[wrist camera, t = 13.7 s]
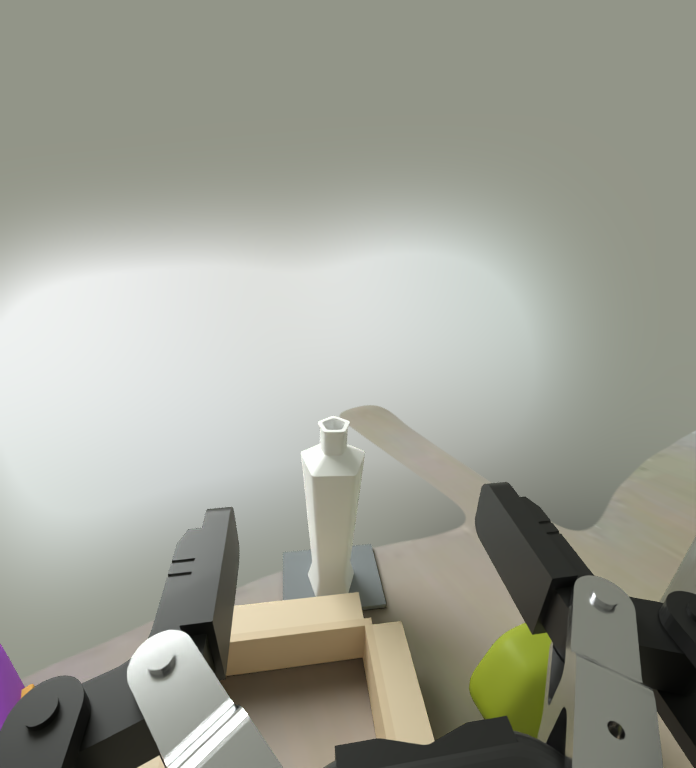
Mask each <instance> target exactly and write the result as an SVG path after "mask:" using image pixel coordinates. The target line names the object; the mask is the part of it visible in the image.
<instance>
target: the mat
mask: <svg viewBox="0 0 696 768" xmlns="http://www.w3.org/2000/svg"><path fill="white" fill-rule="evenodd" d="M350 562H351V565H352V568H353V571H354V575H353V579H352V582H351V586H350V589H349V593H354V592H359V597H360V602H361V607H362V610H368V609H376V608H385V607H386V601H385V597H384V593H383V589H382V585H381V581H380V577H379V573H378V569H377V565H376V561H375V557H374V553H373V550H372V546H371V544H367V545H356V546H352V551H351V559H350ZM311 564H312V555H311V550H303V551H293V552H284V553H283V600H291V599H300V598H309V597H316V596H315V594H314V591H313V588H312V585H311V582H310V580H309V577H308V572H309V570H310V567H311Z"/></svg>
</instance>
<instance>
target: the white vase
mask: <svg viewBox="0 0 696 768" xmlns="http://www.w3.org/2000/svg"><path fill="white" fill-rule="evenodd" d="M349 424H350V422H349V421H347V420H345V419H342V418H339V417H336V416H331V417H329V418H326V419H323V420H321V421H319V422H318V425H319V426H320V444H319V445H316V446H314V447H311V448H309V449H306V450H304V451H302V452H301V458H302V467H303V478H304V487H305V497H306V507H307V516H308V526H309V535H310V544H311V555H312V564H311V567H310V570H309V572H308V577H309V580H310V582H311V585H312V588H313V591H314V594H315V596H316V597H318V596H327V595H336V594H345V593H349V589H350V586H351V582H352V579H353V575H354V571H353V568H352V565H351V562H350V559H351V551H352V544H353V536H354V528H355V522H356V515H357V507H358V500H359V493H360V485H361V478H362V470H363V463H364V455H365V452H364V451H363V450H361V449H358V448H355V447H353V446H350V445H348V444H347V428H348V426H349Z"/></svg>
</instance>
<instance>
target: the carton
mask: <svg viewBox="0 0 696 768" xmlns="http://www.w3.org/2000/svg"><path fill="white" fill-rule="evenodd" d="M356 658H363V663H364V669H365V675H366V681H367V686H368V692H369V698H370V704H371V710H372V716H373V722H374V727H375V733H376V739H377V738H382V739H388V740H395V741H401V742H408V743H415V744H421V745H427V744H430V743H432V742H434V737H433V734H432V730H431V726H430V723H429V719H428V716H427V712H426V708H425V705H424V701H423V697H422V694H421V690H420V687H419V683H418V679H417V676H416V672H415V668H414V665H413V661H412V658H411V654H410V650H409V647H408V643H407V640H406V636H405V632H404V629H403V625H402V621H397V622H389V623H381V624H373V625H372V621H371V618H363V612H362V607H361V602H360V597H359V592H354V593H345V594H336V595H327V596H318V597H309V598H300V599H291V600H283V601H274V602H265V603H256V604H247V605H238V606H234V611H233V620H232V628H231V637H230V646H229V654H228V663H227V672H226V676H230V675H238V674H245V673H252V672H260V671H267V670H275V669H282V668H289V667H297V666H304V665H311V664H319V663H326V662H333V661H341V660H348V659H356ZM138 768H165V767H164V765H163V763H162V761H161V758H160V756H157V757H156V758H154V759H152V760H150V761H148V762H147V763H145V764H143V765H141V766H139V767H138Z"/></svg>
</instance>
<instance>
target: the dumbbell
mask: <svg viewBox="0 0 696 768" xmlns="http://www.w3.org/2000/svg"><path fill="white" fill-rule="evenodd" d="M551 642H552V641H551V639H550V637H549V636H548V634H547V633H541V634H535V635H532V634H531V632H530V630H529V628H528V626H527V624H526V623H524V624H521V625H519V626H517V627H515V628H513V629H511V630H509V631H508V632H506V633H505V634H503V635H502V636H501V637H500V638H499V639H498V640H497V641H496V642H495V643H494V644H493V645H492V647H491V648H490V649H489V651H488V652H487V653H486V655H485V656H484V657H483V659H482V660H481V662H480V663H479V664H478V666H477V667H476V669H475V670H474V672H473V674H472V676H471V679H470V684H469V690H470V694H471V697H472V699H473V701H474V703H475V704H476V706H477V708H478V709H479V711H480V713H481V714H482V716H483V718H484V719H490V718H496V717H502V716H507V717H508V719H509V722H510V724H511V726H512V729H513V731H518V732H521V733H525V734H528V735H530V736H532V737H535V738H537V737H538V732H539V728H540V724H541V720H542V715H543V708H544V698H545V688H546V678H547V668H548V658H549V648H550V644H551Z"/></svg>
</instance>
